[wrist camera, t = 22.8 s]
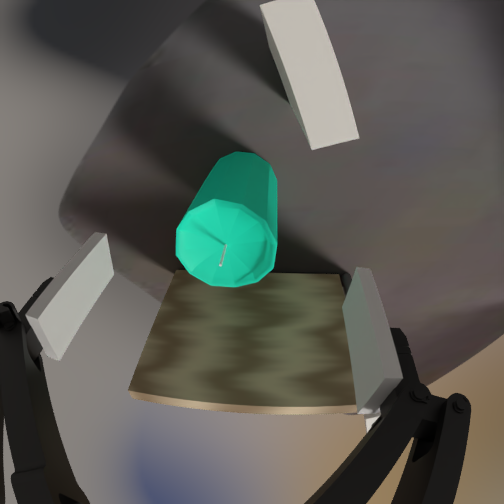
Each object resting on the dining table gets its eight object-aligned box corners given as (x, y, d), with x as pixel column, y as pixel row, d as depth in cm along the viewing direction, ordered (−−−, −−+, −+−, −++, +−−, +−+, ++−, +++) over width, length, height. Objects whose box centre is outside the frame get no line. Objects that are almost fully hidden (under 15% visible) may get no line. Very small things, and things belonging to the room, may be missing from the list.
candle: (288, 166, 25) (297, 239, 15) (262, 224, 28) (253, 318, 18) (220, 141, 24) (179, 196, 14) (200, 201, 27) (157, 286, 17)
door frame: (288, 41, 19) (310, -8, 6) (361, 325, 35) (385, 442, 22) (269, 47, 20) (259, 5, 7) (348, 328, 35) (368, 446, 22)
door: (338, 274, 30) (365, 404, 18) (335, 295, 32) (355, 421, 19) (176, 269, 31) (127, 390, 19) (180, 290, 33) (139, 408, 21)
